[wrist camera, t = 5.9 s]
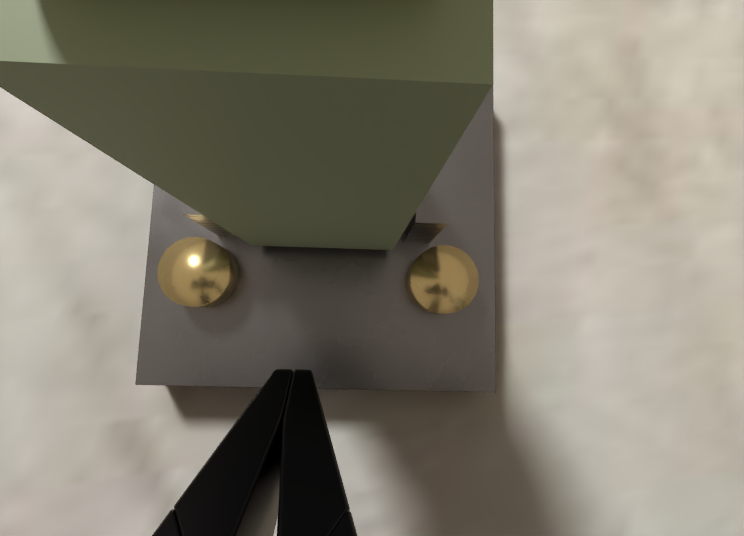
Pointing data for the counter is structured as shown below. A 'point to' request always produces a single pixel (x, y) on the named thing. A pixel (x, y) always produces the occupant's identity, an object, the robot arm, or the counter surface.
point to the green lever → (263, 102)
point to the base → (331, 295)
